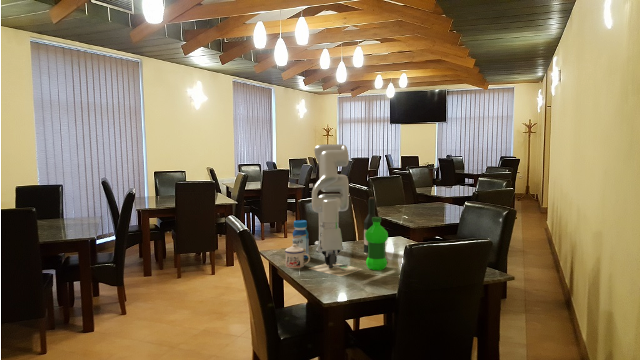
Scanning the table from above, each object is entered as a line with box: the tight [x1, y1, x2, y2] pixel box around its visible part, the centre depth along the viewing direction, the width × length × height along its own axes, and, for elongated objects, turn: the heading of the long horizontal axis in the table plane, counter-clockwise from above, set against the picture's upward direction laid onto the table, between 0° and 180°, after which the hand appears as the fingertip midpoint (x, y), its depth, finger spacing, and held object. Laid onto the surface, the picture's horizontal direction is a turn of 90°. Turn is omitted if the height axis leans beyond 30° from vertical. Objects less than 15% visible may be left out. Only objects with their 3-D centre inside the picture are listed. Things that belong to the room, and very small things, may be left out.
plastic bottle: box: [365, 216, 389, 271], centre depth 214 cm, size 10×10×25 cm
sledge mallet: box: [328, 251, 348, 268], centre depth 217 cm, size 10×6×7 cm, turn 110°
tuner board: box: [307, 262, 363, 277], centre depth 214 cm, size 20×16×1 cm
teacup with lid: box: [284, 243, 311, 269], centre depth 220 cm, size 12×9×12 cm
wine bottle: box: [363, 196, 377, 254], centre depth 252 cm, size 8×8×30 cm
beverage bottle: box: [291, 219, 310, 260], centre depth 236 cm, size 8×8×20 cm
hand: (330, 263), depth 216 cm, fingers closed on sledge mallet, 2 cm apart
